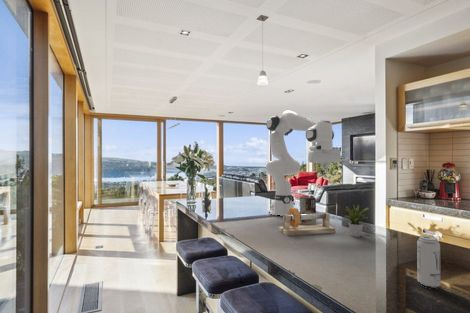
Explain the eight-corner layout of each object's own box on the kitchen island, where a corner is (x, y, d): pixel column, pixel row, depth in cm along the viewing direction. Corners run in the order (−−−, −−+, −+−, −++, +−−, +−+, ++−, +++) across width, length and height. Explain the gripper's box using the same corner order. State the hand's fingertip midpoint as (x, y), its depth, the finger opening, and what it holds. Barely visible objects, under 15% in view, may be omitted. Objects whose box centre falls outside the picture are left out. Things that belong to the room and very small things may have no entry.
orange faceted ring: (288, 224, 159) (288, 206, 159) (292, 224, 160) (291, 206, 160) (296, 228, 149) (296, 209, 150) (300, 228, 150) (300, 209, 150)
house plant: (375, 240, 139) (375, 207, 139) (345, 238, 141) (345, 206, 141) (368, 233, 153) (368, 202, 153) (341, 231, 155) (340, 201, 155)
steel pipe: (283, 220, 155) (283, 214, 155) (325, 217, 161) (325, 212, 161) (285, 221, 152) (285, 215, 152) (329, 219, 158) (329, 213, 158)
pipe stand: (278, 230, 159) (278, 213, 159) (323, 227, 166) (323, 210, 166) (287, 235, 147) (287, 217, 147) (335, 232, 154) (335, 214, 154)
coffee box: (314, 222, 178) (314, 196, 178) (316, 224, 172) (316, 198, 172) (299, 222, 179) (299, 196, 179) (301, 224, 173) (300, 198, 173)
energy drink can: (436, 291, 86) (435, 241, 86) (414, 284, 90) (413, 237, 91) (443, 286, 89) (443, 238, 89) (422, 279, 94) (421, 234, 94)
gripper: (336, 147, 175) (337, 169, 175) (306, 147, 170) (307, 170, 170) (343, 147, 169) (343, 170, 169) (312, 146, 164) (312, 170, 164)
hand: (324, 170), depth 170 cm, fingers closed
